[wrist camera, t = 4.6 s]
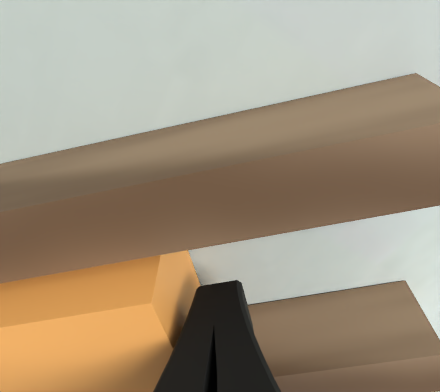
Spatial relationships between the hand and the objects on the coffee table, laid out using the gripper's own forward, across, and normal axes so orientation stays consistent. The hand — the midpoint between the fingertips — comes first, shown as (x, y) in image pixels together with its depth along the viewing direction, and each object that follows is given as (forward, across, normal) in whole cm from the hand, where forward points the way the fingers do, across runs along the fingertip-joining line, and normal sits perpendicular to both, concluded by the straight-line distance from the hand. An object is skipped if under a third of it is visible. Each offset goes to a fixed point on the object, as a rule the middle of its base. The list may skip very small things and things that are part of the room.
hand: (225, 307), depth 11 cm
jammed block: (+2, +4, 0) cm, 4 cm away
